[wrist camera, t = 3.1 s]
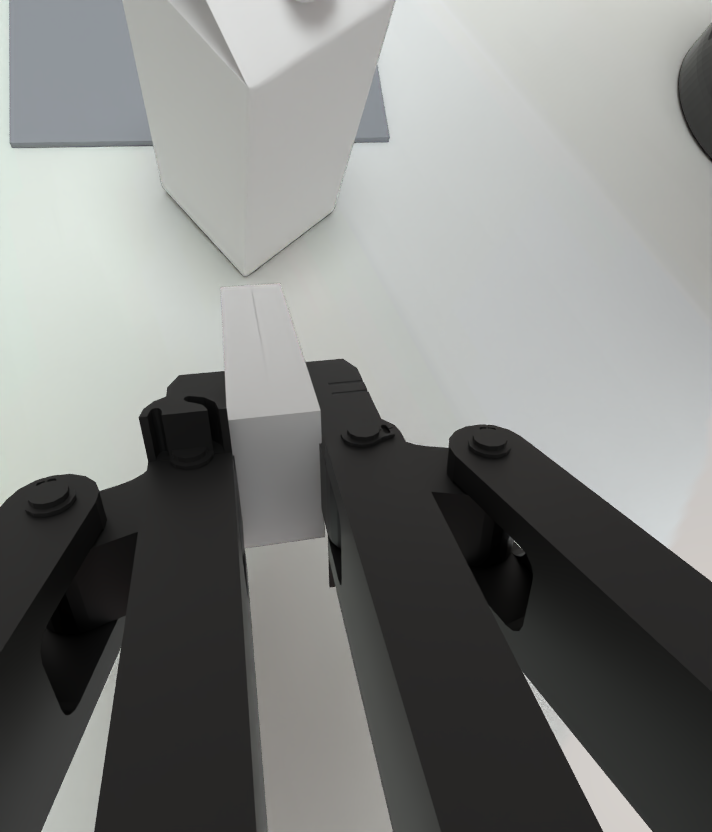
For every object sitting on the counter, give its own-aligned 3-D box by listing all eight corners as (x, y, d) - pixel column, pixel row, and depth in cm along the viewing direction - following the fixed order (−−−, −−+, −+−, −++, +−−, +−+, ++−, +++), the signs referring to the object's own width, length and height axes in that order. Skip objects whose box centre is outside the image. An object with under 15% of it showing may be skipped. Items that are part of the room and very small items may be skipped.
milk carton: (161, 188, 34) (74, -214, 16) (255, 124, 36) (274, -299, 18) (244, 279, 34) (253, -20, 16) (335, 210, 36) (435, -127, 18)
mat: (352, -69, 42) (353, -75, 41) (388, 141, 38) (389, 137, 37) (11, -85, 38) (9, -91, 37) (12, 147, 34) (9, 142, 34)
